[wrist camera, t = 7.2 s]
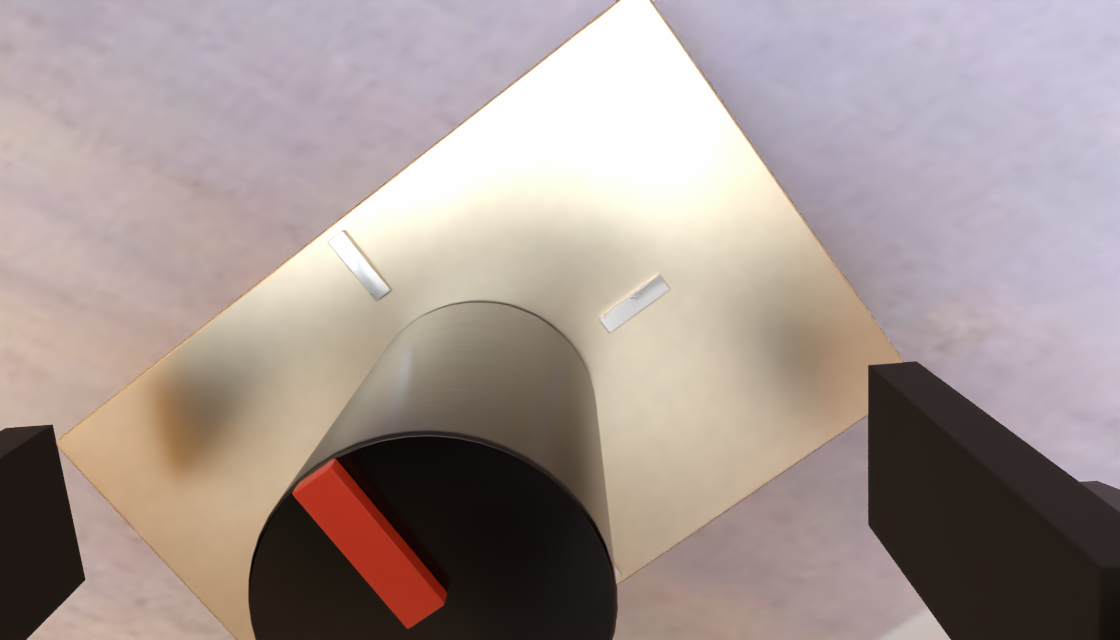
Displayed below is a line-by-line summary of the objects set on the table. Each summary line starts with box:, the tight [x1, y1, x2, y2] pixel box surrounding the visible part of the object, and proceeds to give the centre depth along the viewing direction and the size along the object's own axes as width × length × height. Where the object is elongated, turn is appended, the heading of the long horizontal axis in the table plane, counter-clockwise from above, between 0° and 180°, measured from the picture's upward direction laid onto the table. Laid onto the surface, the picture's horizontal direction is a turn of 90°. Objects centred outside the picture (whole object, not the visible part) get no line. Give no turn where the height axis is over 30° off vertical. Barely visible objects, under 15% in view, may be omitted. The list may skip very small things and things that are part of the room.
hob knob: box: [248, 302, 618, 640], centre depth 14 cm, size 4×4×7 cm
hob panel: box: [56, 0, 904, 640], centre depth 19 cm, size 14×9×3 cm, turn 127°
